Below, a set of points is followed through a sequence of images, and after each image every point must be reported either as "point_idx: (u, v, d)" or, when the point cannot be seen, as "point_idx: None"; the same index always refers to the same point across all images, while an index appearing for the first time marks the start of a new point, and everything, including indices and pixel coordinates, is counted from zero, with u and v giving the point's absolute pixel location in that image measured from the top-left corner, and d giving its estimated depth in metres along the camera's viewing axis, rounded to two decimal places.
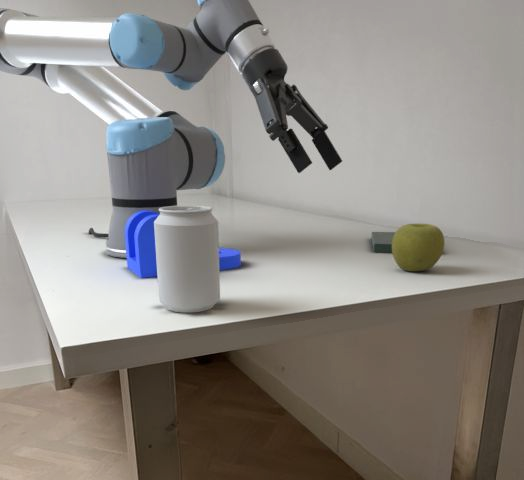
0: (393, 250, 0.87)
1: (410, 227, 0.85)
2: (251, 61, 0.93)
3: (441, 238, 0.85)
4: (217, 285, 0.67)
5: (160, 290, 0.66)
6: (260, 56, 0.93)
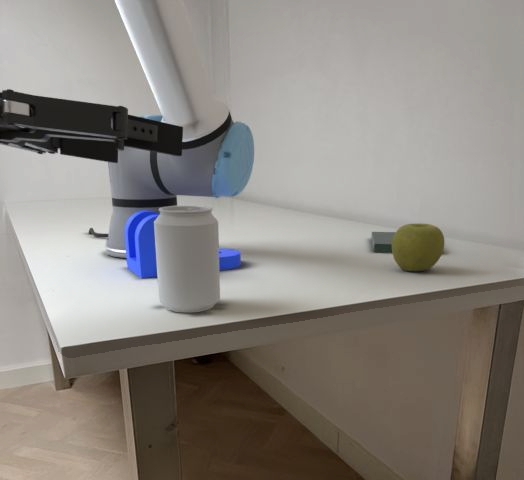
0: (393, 250, 0.87)
1: (410, 227, 0.85)
2: None
3: (441, 238, 0.85)
4: (217, 285, 0.67)
5: (160, 290, 0.66)
6: None
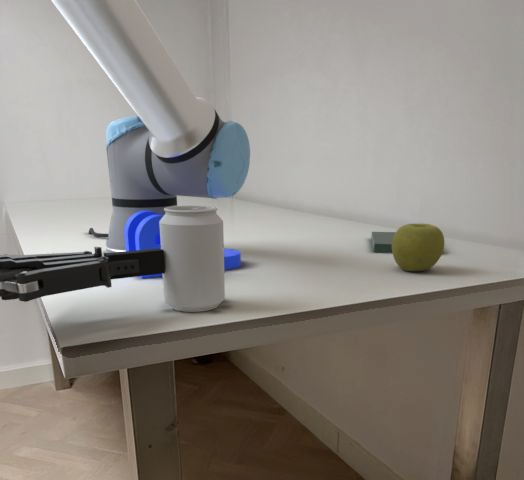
0: (393, 250, 0.87)
1: (410, 227, 0.85)
2: None
3: (441, 238, 0.85)
4: (222, 285, 0.67)
5: (165, 289, 0.66)
6: None
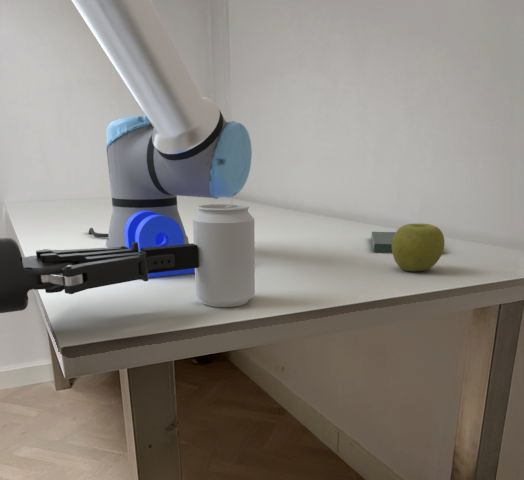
0: (393, 250, 0.87)
1: (410, 227, 0.85)
2: None
3: (441, 238, 0.85)
4: (252, 281, 0.69)
5: (198, 285, 0.68)
6: None
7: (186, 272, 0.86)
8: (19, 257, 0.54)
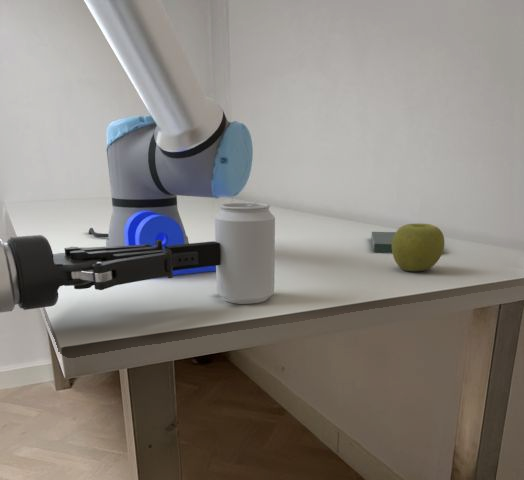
0: (393, 250, 0.87)
1: (410, 227, 0.85)
2: None
3: (441, 238, 0.85)
4: (273, 278, 0.70)
5: (219, 282, 0.70)
6: None
7: (186, 272, 0.86)
8: (51, 254, 0.55)
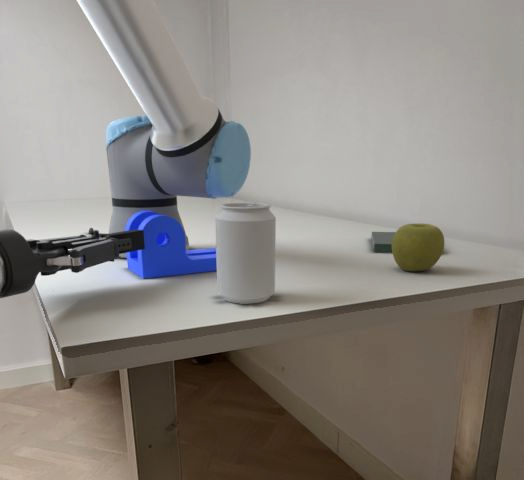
0: (393, 250, 0.87)
1: (410, 227, 0.85)
2: None
3: (441, 238, 0.85)
4: (273, 278, 0.70)
5: (220, 282, 0.70)
6: None
7: (187, 272, 0.86)
8: (28, 244, 0.63)
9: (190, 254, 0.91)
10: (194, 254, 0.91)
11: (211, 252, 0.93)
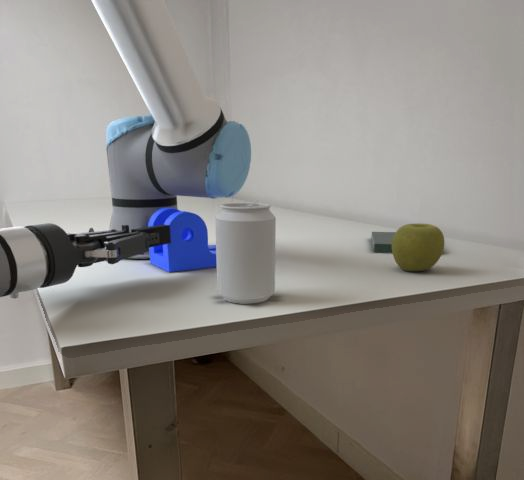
0: (393, 250, 0.87)
1: (410, 227, 0.85)
2: None
3: (441, 238, 0.85)
4: (273, 278, 0.70)
5: (220, 282, 0.70)
6: None
7: (209, 266, 0.90)
8: (69, 237, 0.67)
9: (209, 249, 0.95)
10: (213, 249, 0.96)
11: None
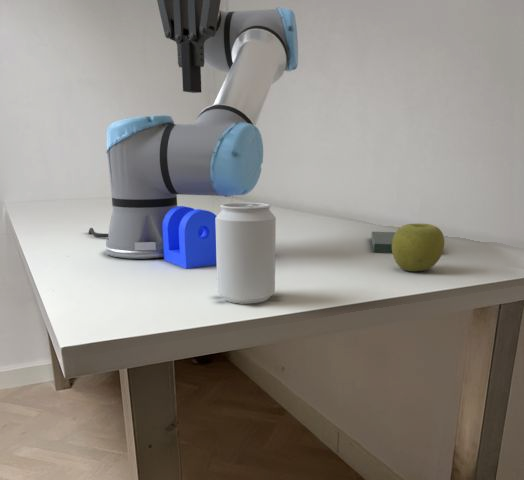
0: (393, 250, 0.87)
1: (410, 227, 0.85)
2: None
3: (441, 238, 0.85)
4: (273, 278, 0.70)
5: (220, 282, 0.70)
6: None
7: None
8: None
9: None
10: None
11: None
